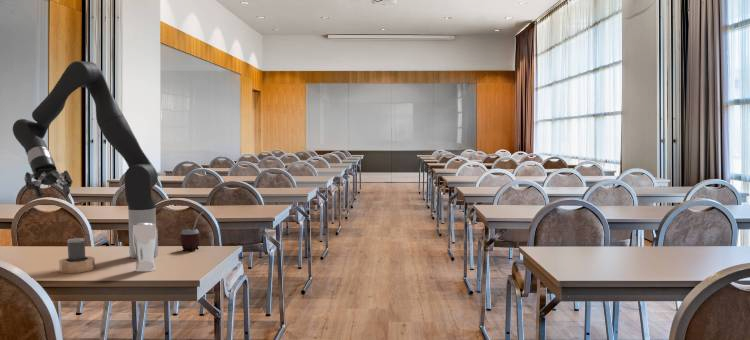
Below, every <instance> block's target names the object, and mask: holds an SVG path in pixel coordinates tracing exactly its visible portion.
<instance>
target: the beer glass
mask: <svg viewBox="0 0 750 340" xmlns="http://www.w3.org/2000/svg"><path fill="white" fill-rule="evenodd" d="M133 244H134V249H135V253H136V258H135V259H136V264H135V268H134V270H135V272H136V273H145V272H148V273H149V272H153V271H155V270H156V269H157V268H156V264H155V263H156V262H155V257H154V252H155V245H156V229H155V223H152V222H145V223H136V224H133Z"/></svg>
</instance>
